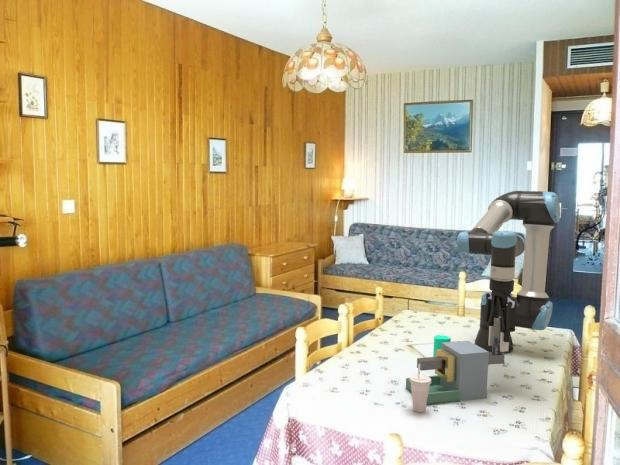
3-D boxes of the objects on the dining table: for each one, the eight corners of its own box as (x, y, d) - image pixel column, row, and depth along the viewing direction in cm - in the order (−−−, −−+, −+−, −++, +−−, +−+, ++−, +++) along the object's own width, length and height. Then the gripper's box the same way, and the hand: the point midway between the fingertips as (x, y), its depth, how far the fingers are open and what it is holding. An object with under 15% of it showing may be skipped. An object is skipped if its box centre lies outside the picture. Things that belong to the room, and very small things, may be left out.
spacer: (441, 372, 180) (442, 349, 179) (454, 381, 172) (455, 356, 172) (434, 373, 179) (435, 349, 179) (447, 382, 172) (448, 357, 171)
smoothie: (406, 405, 167) (407, 360, 166) (426, 404, 168) (428, 360, 166) (411, 414, 161) (413, 368, 160) (433, 413, 162) (434, 368, 160)
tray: (438, 385, 184) (439, 375, 183) (459, 401, 171) (460, 390, 170) (405, 388, 180) (406, 378, 180) (425, 405, 167) (425, 394, 167)
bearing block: (466, 383, 185) (468, 340, 184) (486, 397, 174) (488, 351, 172) (439, 386, 183) (441, 342, 181) (458, 400, 171) (460, 354, 170)
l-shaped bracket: (498, 359, 183) (501, 316, 181) (505, 363, 179) (507, 319, 178) (416, 367, 175) (418, 321, 173) (421, 371, 171) (423, 324, 170)
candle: (449, 367, 200) (451, 336, 199) (433, 366, 202) (434, 334, 200) (449, 362, 206) (450, 331, 205) (432, 361, 207) (434, 330, 206)
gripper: (475, 274, 186) (472, 340, 188) (509, 285, 168) (505, 358, 170) (495, 273, 188) (491, 338, 190) (530, 284, 170) (526, 356, 172)
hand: (498, 347), depth 180 cm, fingers open, 6 cm apart
